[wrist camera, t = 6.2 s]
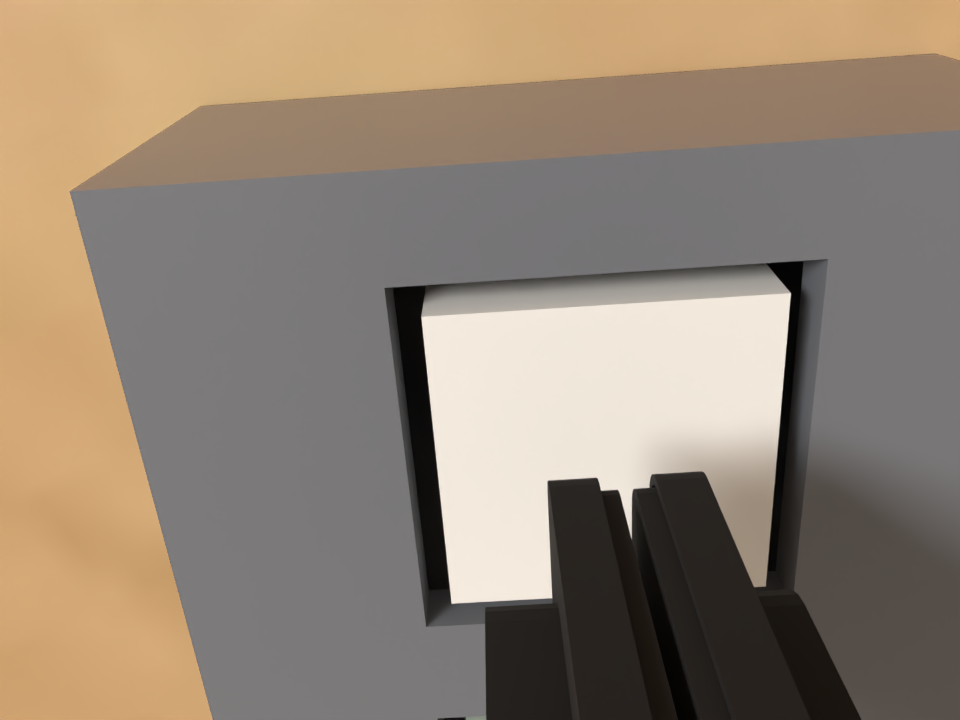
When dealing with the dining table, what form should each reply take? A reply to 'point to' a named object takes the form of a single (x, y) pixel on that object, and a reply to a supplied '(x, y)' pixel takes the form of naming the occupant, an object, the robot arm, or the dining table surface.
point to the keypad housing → (522, 255)
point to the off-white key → (599, 405)
